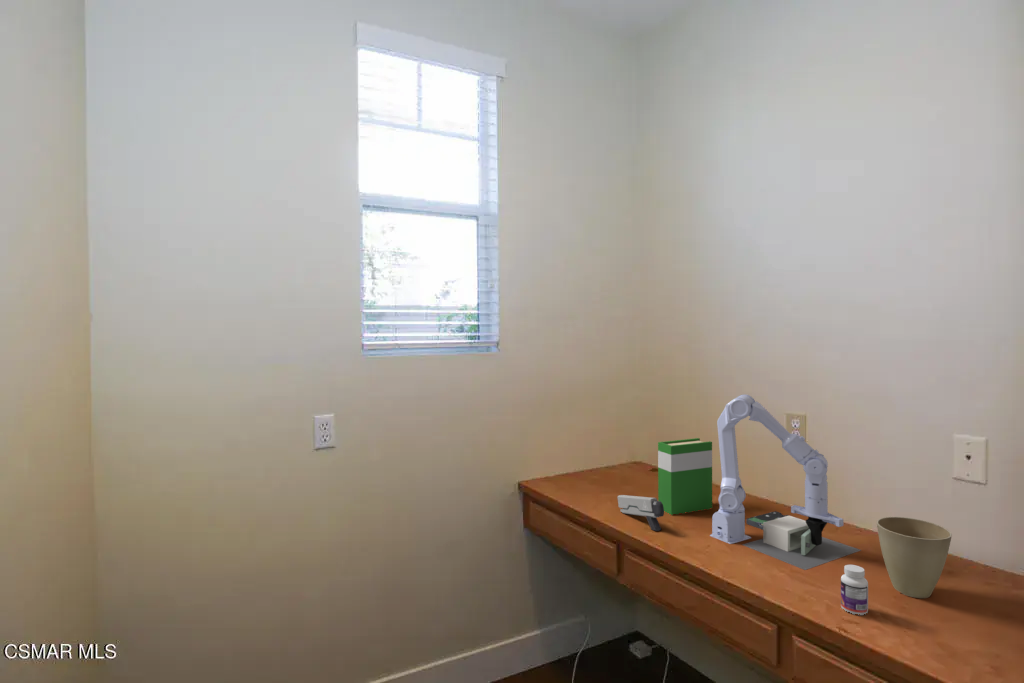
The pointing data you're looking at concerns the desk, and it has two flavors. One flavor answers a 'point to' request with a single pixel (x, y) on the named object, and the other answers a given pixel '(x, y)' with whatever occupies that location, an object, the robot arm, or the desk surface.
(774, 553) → the mat
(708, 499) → the hardback book
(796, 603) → the desk surface
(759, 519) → the disk drive
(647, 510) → the gun
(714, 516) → the robot arm
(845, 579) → the pill bottle
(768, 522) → the cabinet
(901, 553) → the plant pot
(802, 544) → the cabinet door
